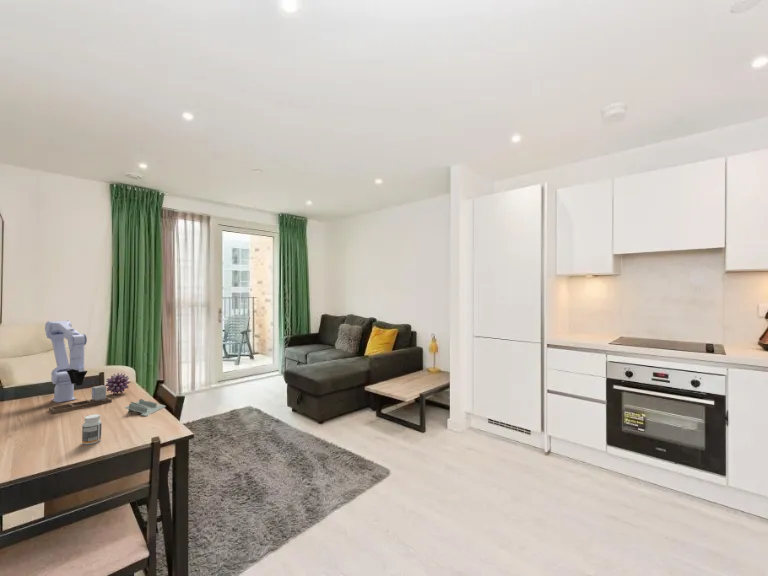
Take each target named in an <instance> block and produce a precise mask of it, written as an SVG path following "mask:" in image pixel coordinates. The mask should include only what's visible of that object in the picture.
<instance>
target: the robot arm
mask: <svg viewBox="0 0 768 576" xmlns="http://www.w3.org/2000/svg"><path fill="white" fill-rule="evenodd" d="M44 331H45V335H46V338H47V339H49V340H50V342H51V344H52V349H53V353H54V358H55V362H56V367H55V368H53V369H52V371H51V373H50V374H51V383H52V384H53V385H55V386H54V391H53V392H54V393H53V394H54V396H53V397H54V398H51V400H52V401H53V402H55V403H57V404H58V403H64V402H68V401H74V400H77V397H74V392H75V391H74V389H75V388H74V387H75V385H76V386H77V387H78V386H83V382H84V379H85V376H86V375H87V373H88V370H85V366H86V365H85V345H87V342H88V337H87V335H86V334H85V333H82V334H81V333H80V332H79V331H78V330H77V329H75V328H74V327H72V322H71V321H70V320H69V319H68V320H51V321H50V320H47V321H46V322H45V325H44ZM64 339H66V341H67V344H68V350H69V357H68V354H67V348H66V344H65V341H64Z"/></svg>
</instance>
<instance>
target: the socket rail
mask: <svg viewBox="0 0 768 576" xmlns="http://www.w3.org/2000/svg"><path fill="white" fill-rule="evenodd" d="M108 402H109V403H112V398H110V397H108V396H106V400H103V401H98V402H92V398H90V399H86V400H80V401H75V402H70V403H65V404H61V405H55V406H50V407H48V412H49V413H52V414H53V415H56V414H60V413H64V412H65V413H66V412H69V411H74V410H78V409H83V408H89V407H93V406H98V405H103V404H108Z"/></svg>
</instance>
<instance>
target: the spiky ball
mask: <svg viewBox="0 0 768 576" xmlns="http://www.w3.org/2000/svg"><path fill="white" fill-rule="evenodd" d="M125 375H126V374H124V373H119V372H117V374H115V373H114V374H113V375H110V378H109V377H108V378H106V384H104V386H106V392H110V393H112V394H113V395H115V393H118V394H119V393H121V394H122V393H123V392H125V390H126V389H129V388H130V387H129V384H131V383H132V382H131V381H129V379H130V377H129V376H128V375H126V376H125Z"/></svg>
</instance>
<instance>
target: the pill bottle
mask: <svg viewBox="0 0 768 576" xmlns="http://www.w3.org/2000/svg"><path fill="white" fill-rule="evenodd" d="M100 419H101V415H100V414H98V413H97V414H90V415H87V416H85V417H84V423H83V424H82V428H81V429H82V431H81V433H82V434H81V439H82V440H81V443H82V444H83V445H94V444H96V443H99V442H100V441H101V440H102V424H103V423H102V420H100Z"/></svg>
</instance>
